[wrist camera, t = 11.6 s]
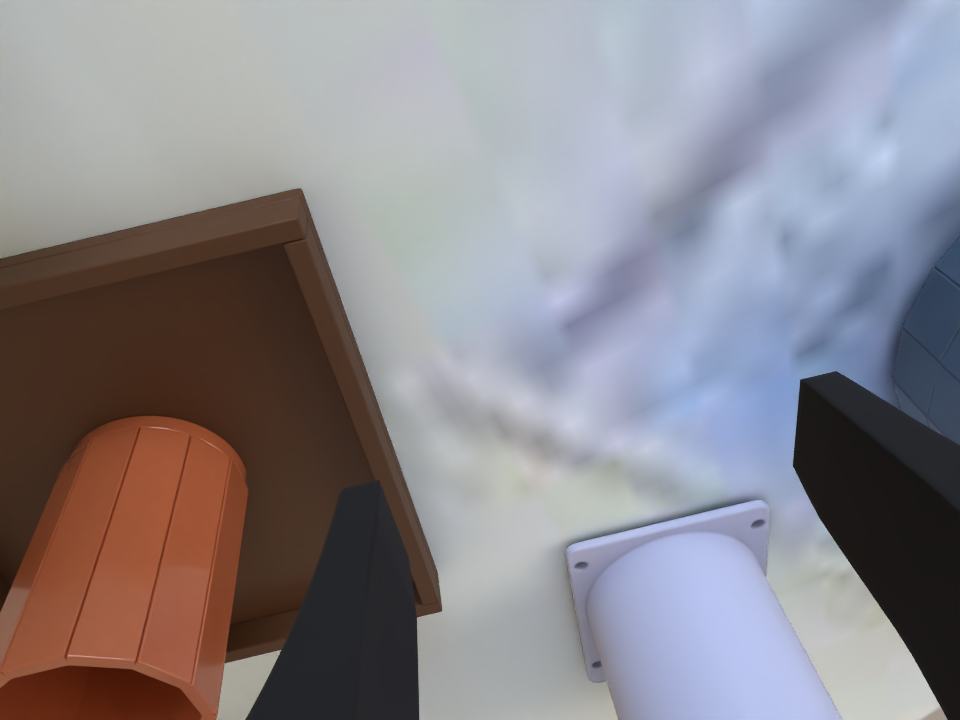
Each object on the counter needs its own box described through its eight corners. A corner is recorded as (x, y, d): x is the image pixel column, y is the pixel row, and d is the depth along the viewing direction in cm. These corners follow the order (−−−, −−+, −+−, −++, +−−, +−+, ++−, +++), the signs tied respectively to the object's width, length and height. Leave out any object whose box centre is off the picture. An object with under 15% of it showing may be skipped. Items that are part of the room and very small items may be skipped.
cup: (272, 515, 26) (247, 753, 19) (117, 552, 26) (41, 803, 19) (209, 396, 22) (155, 634, 16) (32, 438, 22) (-93, 693, 16)
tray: (437, 572, 29) (442, 611, 28) (77, 657, 29) (63, 702, 28) (301, 186, 20) (297, 217, 18) (-237, 314, 20) (-283, 354, 18)
